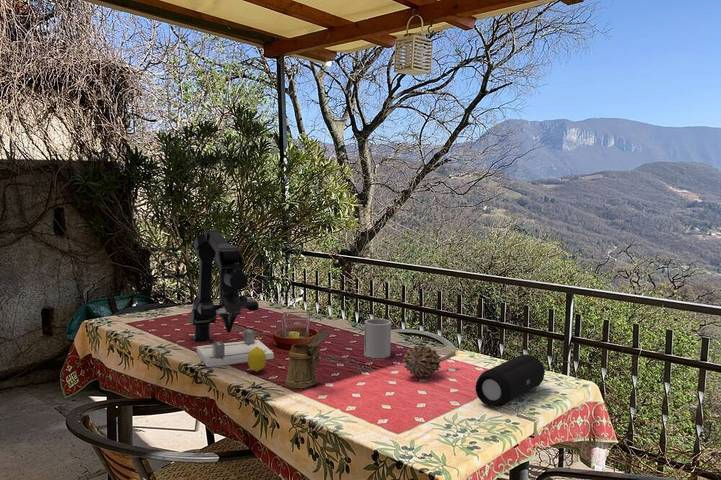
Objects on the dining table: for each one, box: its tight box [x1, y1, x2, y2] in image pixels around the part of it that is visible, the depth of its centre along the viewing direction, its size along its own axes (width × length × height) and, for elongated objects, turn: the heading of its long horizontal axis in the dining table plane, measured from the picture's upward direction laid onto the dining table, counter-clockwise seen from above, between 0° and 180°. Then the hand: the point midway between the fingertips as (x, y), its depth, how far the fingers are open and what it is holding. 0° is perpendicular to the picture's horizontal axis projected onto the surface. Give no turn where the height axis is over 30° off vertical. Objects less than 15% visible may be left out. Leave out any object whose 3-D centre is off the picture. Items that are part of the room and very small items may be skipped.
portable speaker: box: [475, 353, 546, 408], centre depth 148 cm, size 26×10×10 cm, turn 137°
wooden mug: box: [284, 327, 328, 389], centre depth 154 cm, size 9×14×18 cm, turn 54°
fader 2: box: [242, 328, 256, 344], centre depth 190 cm, size 4×3×4 cm
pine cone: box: [402, 344, 458, 378], centre depth 166 cm, size 22×10×10 cm, turn 133°
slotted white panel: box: [196, 339, 275, 368], centre depth 182 cm, size 18×22×2 cm
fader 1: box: [212, 341, 225, 358], centre depth 173 cm, size 4×3×4 cm
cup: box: [363, 318, 392, 358], centre depth 184 cm, size 9×9×12 cm
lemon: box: [247, 347, 267, 373], centre depth 165 cm, size 6×6×8 cm
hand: (228, 332), depth 174 cm, fingers closed
